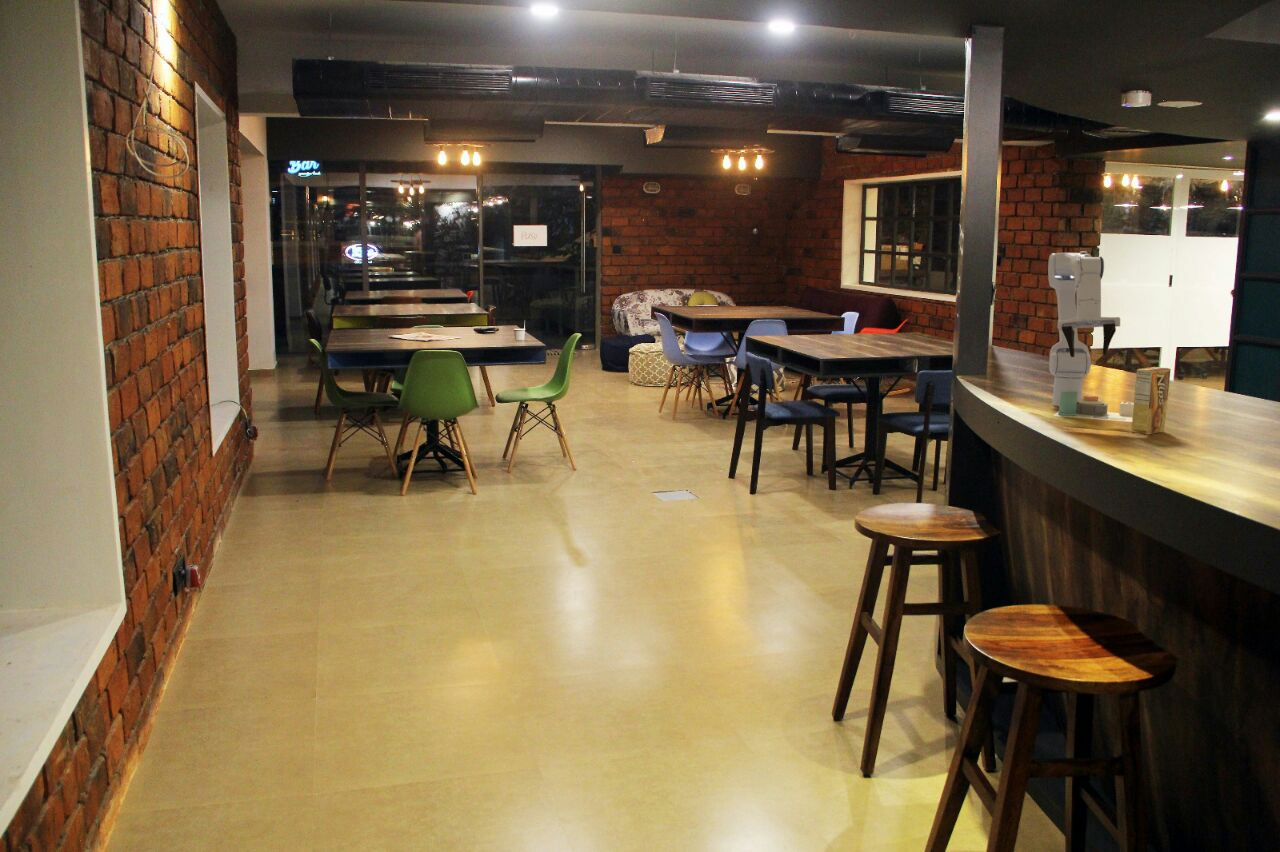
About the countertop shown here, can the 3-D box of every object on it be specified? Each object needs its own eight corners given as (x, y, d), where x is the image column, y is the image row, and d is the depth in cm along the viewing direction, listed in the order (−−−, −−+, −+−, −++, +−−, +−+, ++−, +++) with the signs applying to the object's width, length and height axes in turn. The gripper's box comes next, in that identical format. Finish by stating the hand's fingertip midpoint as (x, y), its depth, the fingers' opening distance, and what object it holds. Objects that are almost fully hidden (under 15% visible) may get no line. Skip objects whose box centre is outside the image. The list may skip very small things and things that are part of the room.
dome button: (1080, 402, 283) (1080, 394, 283) (1103, 404, 281) (1103, 396, 280) (1077, 405, 279) (1077, 396, 278) (1100, 407, 276) (1101, 398, 276)
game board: (1061, 412, 288) (1062, 397, 287) (1152, 419, 277) (1153, 403, 277) (1052, 419, 275) (1053, 403, 275) (1146, 427, 264) (1148, 410, 264)
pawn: (1059, 413, 280) (1061, 390, 279) (1077, 414, 277) (1079, 391, 276) (1056, 415, 276) (1058, 392, 275) (1075, 416, 274) (1076, 393, 273)
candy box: (1148, 429, 261) (1153, 366, 259) (1165, 431, 258) (1171, 368, 255) (1130, 433, 256) (1135, 368, 253) (1148, 435, 252) (1153, 370, 250)
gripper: (1055, 301, 273) (1055, 353, 271) (1117, 296, 266) (1118, 350, 264) (1060, 308, 279) (1059, 359, 277) (1121, 304, 272) (1121, 356, 270)
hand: (1088, 355), depth 271 cm, fingers open, 7 cm apart
